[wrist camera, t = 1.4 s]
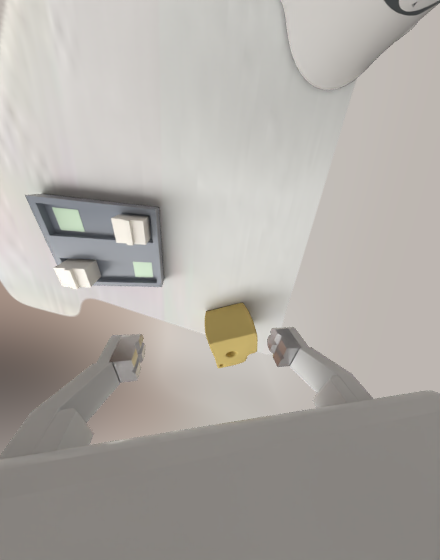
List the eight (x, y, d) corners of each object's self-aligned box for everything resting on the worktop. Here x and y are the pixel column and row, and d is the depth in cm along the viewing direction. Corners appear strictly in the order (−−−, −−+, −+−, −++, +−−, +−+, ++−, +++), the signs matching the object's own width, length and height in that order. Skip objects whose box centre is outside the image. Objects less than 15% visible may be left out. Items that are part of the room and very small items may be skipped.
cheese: (247, 326, 45) (260, 360, 36) (211, 335, 44) (215, 371, 36) (244, 299, 39) (258, 332, 31) (202, 309, 39) (205, 344, 30)
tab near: (121, 213, 24) (108, 219, 20) (148, 216, 24) (141, 222, 21) (125, 235, 25) (114, 244, 22) (151, 237, 26) (144, 246, 23)
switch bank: (41, 193, 22) (24, 195, 20) (158, 207, 25) (155, 209, 23) (76, 277, 29) (66, 284, 27) (163, 279, 33) (161, 286, 30)
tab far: (69, 258, 26) (50, 269, 23) (96, 259, 27) (81, 270, 23) (76, 275, 28) (59, 288, 24) (101, 276, 28) (88, 289, 25)
